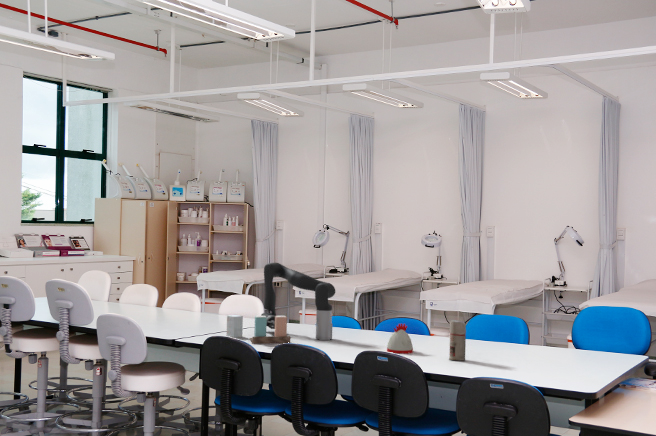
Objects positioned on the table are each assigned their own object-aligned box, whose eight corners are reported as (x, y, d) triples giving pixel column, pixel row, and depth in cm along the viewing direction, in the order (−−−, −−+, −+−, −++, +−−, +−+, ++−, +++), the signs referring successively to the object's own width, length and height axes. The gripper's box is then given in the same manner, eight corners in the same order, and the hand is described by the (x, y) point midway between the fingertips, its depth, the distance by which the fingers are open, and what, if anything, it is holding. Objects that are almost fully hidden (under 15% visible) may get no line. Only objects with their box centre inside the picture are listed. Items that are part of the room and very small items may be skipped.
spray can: (447, 358, 336) (447, 319, 336) (462, 358, 336) (463, 319, 337) (451, 361, 327) (452, 321, 328) (467, 361, 328) (468, 321, 328)
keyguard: (285, 340, 380) (285, 332, 380) (290, 344, 366) (290, 336, 366) (249, 341, 375) (249, 333, 375) (252, 345, 361) (252, 336, 361)
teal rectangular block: (264, 341, 370) (265, 315, 370) (266, 342, 365) (266, 316, 365) (254, 341, 368) (254, 315, 369) (255, 342, 364) (256, 316, 364)
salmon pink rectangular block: (284, 341, 372) (285, 315, 373) (286, 342, 368) (287, 316, 368) (274, 341, 371) (275, 315, 372) (275, 342, 366) (276, 316, 367)
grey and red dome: (418, 352, 350) (418, 324, 351) (397, 354, 344) (397, 325, 344) (402, 348, 362) (403, 321, 363) (382, 350, 356) (382, 322, 356)
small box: (242, 338, 385) (243, 316, 386) (233, 339, 381) (233, 316, 382) (235, 336, 391) (235, 314, 392) (226, 337, 387) (226, 315, 388)
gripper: (261, 315, 400) (265, 319, 383) (283, 315, 403) (287, 319, 386) (261, 328, 399) (265, 332, 382) (282, 327, 402) (287, 331, 385)
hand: (276, 325), depth 384 cm, fingers closed
